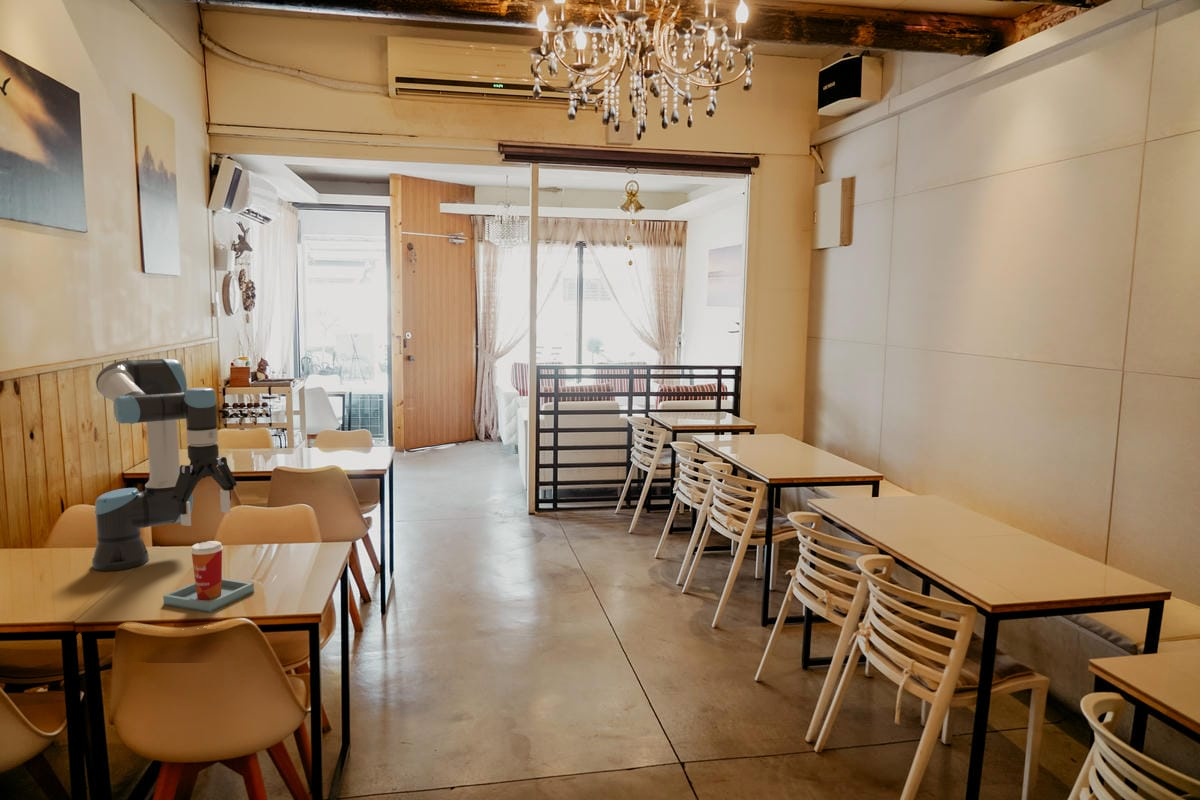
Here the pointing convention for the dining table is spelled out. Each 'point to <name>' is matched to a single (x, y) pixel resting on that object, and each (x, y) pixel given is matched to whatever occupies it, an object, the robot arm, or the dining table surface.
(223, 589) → the tray
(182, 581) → the dining table surface
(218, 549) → the coffee cup
